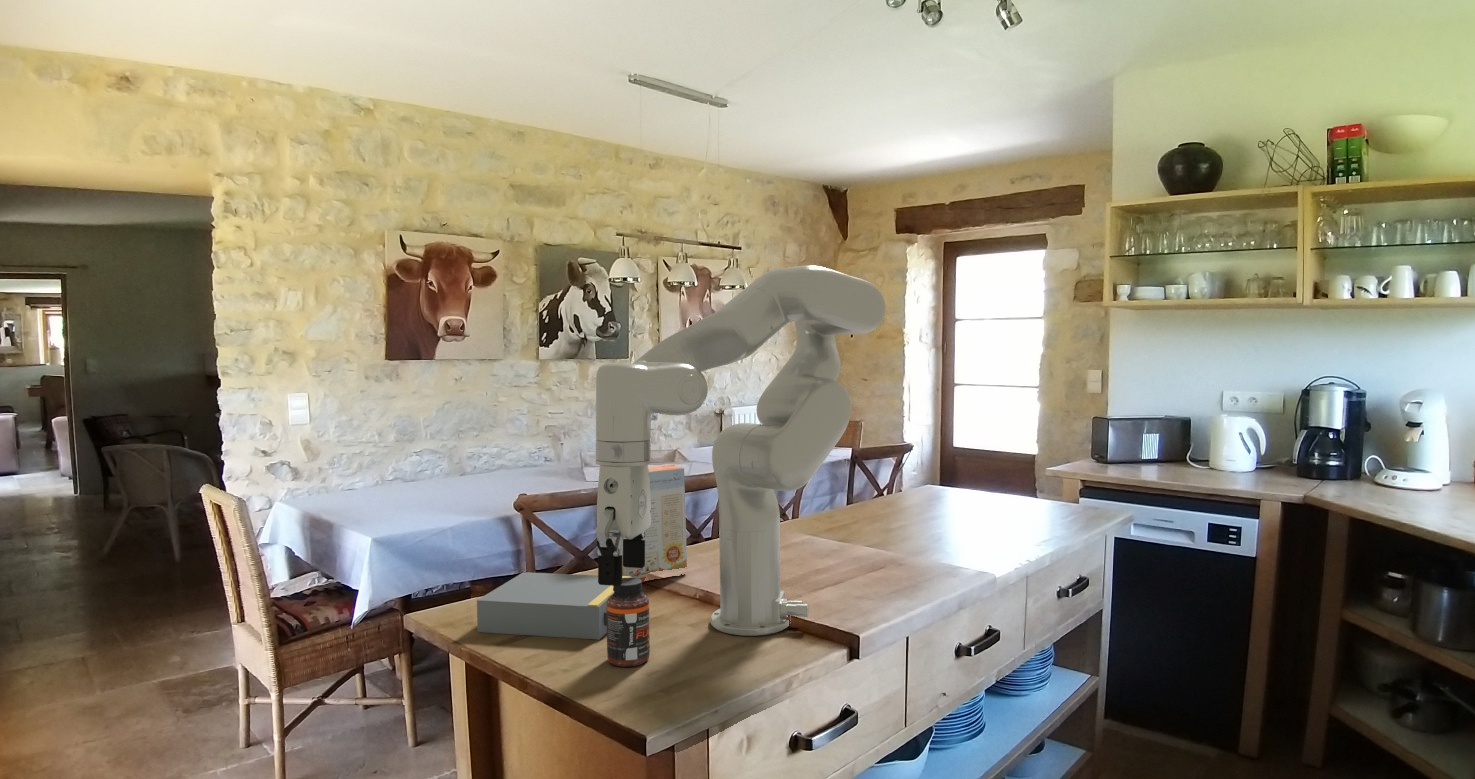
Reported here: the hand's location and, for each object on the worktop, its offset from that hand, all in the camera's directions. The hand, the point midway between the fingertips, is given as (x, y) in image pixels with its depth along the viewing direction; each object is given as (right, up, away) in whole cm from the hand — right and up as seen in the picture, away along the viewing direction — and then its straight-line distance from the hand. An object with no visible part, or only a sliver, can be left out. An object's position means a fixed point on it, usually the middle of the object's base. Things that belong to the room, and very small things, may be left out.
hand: (622, 575), depth 116 cm
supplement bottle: (+1, -12, +1) cm, 12 cm away
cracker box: (-1, -10, +42) cm, 44 cm away
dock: (-13, -11, +19) cm, 26 cm away
